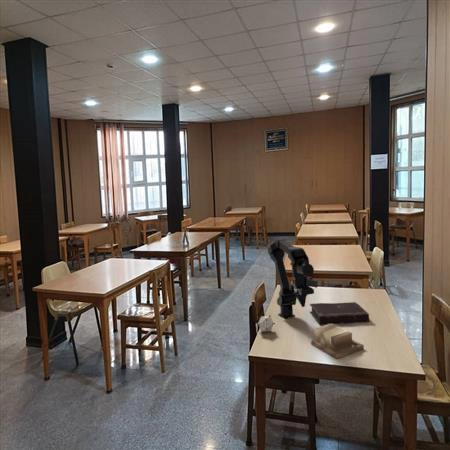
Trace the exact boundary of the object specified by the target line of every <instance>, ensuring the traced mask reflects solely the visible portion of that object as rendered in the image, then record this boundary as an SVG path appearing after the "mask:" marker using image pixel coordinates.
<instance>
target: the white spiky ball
mask: <svg viewBox="0 0 450 450" xmlns="http://www.w3.org/2000/svg"><path fill="white" fill-rule="evenodd" d="M273 321H274V320H273V319H272V318H271V314H269V315H265V316H262V315H259V320H258V322H257V325H258V327H259V329H260V334H262V333H263V332H270V333H272V332H273V331H272V329H273V326H274V325H276V323H275V322H273Z"/></svg>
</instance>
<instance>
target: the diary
mask: <svg viewBox="0 0 450 450" xmlns="http://www.w3.org/2000/svg"><path fill="white" fill-rule="evenodd" d="M309 305H310V307H311V310H310V311H309V314H310V315H311V316H312V317H313V318H314V320H315V321H316V323H317V324H318V325H319V326H321V325H322V326H325V325H328V324H331V323H332V324H334V325H337V324H352V323H354V324H355V323H369V322H370V313H369V312H367V311H366V310H365V309H364V308H363V307H362V306H361V305H360V304H359V303H357V302H356V301H354V302H353V301H351V302H336V303H335V302H334V303H333V302H331V303H330V302H329V303H328V302H323V303H322V302H319V303H318V302H317V303H309Z"/></svg>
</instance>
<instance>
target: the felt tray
mask: <svg viewBox="0 0 450 450" xmlns="http://www.w3.org/2000/svg"><path fill="white" fill-rule="evenodd" d="M310 341H311V343H310V344H311V345H312V346H314V347H315V348H317V349H319V350H320V351H323V352H324V353H326V354H328V355H329V356H331V357H333V358H335V359H336V360H338V359H340V358H343V357H346V356H348V355H351V354H354V353H356V352H359V351H363V350H364V348H365V344H362V343H360V342H358V341H356V340H354V339H352V346H351V347H348V348H345V349H343V350H340V351H337V352H335V351H333V350H331V349H329V348H328V347H326V346H324V345H322V344H320V343H319V342H317V341H315V339H311V340H310Z"/></svg>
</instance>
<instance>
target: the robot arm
mask: <svg viewBox="0 0 450 450" xmlns="http://www.w3.org/2000/svg"><path fill="white" fill-rule="evenodd" d="M267 253H268V255H269V258H270V259H271V260H272V261H273V262H274V265H275V270H276V274H277V279H278V282H279V287H280V289H279V292H278V297H277V299H276V304H277V306H279V308H280V313H278V316H279V317H282V318H283V319H290V318H293V317H295V316H296V315H295V314H294V312H293V311H294V308H293V306H296V304H297V301H298V302H299V304H300V306H301V307H302V308H305V307H306V299H307V296H308V295H314V294H315V289H314V288H316V289H317V288H318V284H319V280H315V279H313V277H311V276H312V275H313V274H314V272H315V271H314V266H313V265H312V264H310V258H309V257H308V254H307V253H306V251H305V249H304V248H303V247H300V246H299V247H298V246H294V245H292V244H291V243H290V242H288V241H287V240H286V239H284V238H283V239H277V240H275V242H273V243H271V244H270V245H269V247H268V248H267ZM285 253H286V254H287V258H288V259H289V260H290V264H289V265H290V266H291V270H292V276H291V279H292V280H293V283H290V281H289V277H288V273H287V271H286V266H285V263H284V262H285V261H284V258H285Z"/></svg>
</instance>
